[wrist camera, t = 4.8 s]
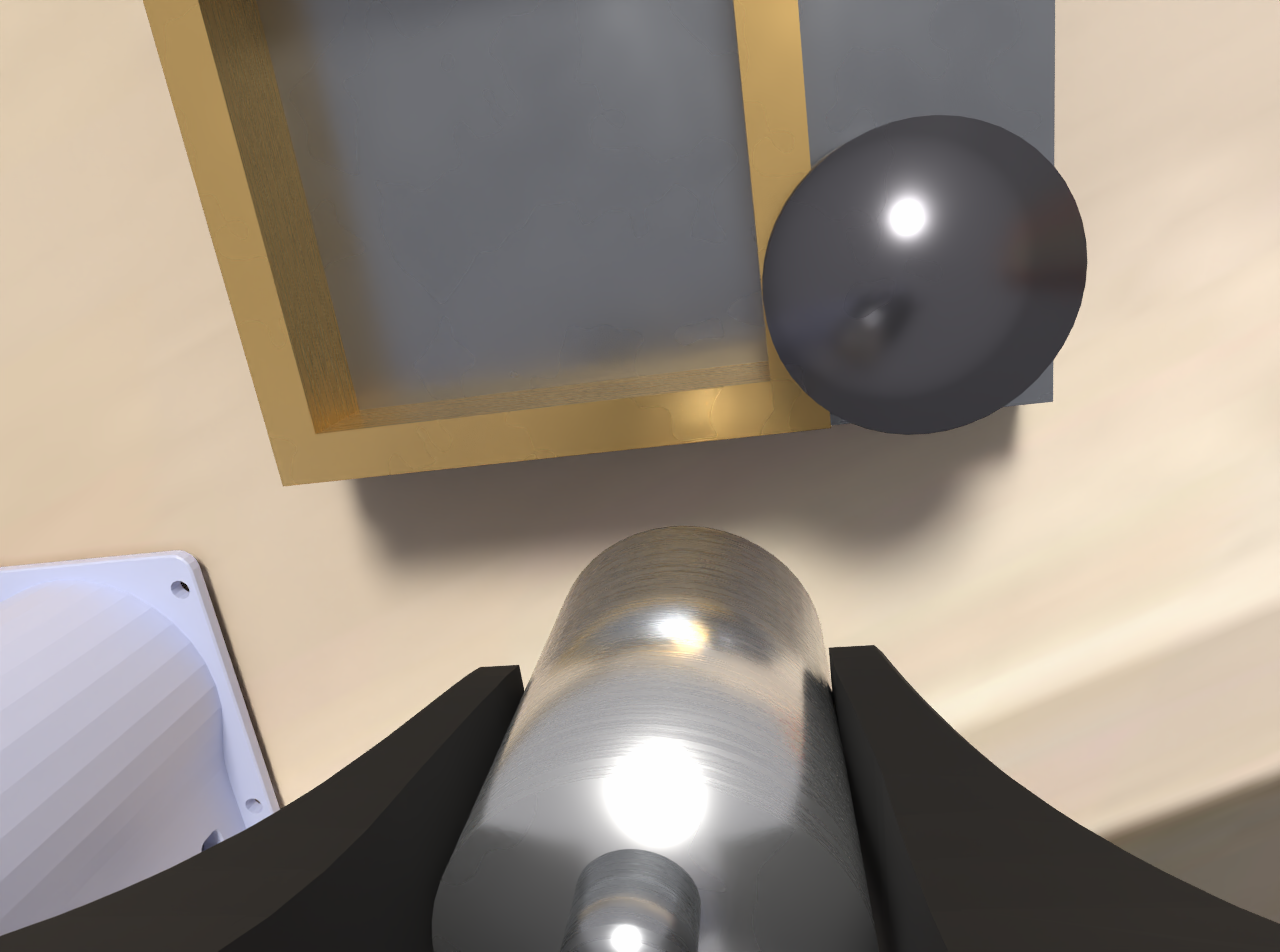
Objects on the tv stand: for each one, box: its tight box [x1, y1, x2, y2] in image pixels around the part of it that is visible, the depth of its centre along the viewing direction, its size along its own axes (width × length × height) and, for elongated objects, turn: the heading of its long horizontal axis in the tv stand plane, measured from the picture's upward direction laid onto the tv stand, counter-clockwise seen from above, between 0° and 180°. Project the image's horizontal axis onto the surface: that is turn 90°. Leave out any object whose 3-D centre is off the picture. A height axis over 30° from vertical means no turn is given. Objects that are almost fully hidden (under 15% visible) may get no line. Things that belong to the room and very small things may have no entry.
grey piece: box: [143, 0, 1087, 486], centre depth 15 cm, size 14×16×5 cm
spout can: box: [432, 526, 879, 952], centre depth 10 cm, size 4×4×7 cm
